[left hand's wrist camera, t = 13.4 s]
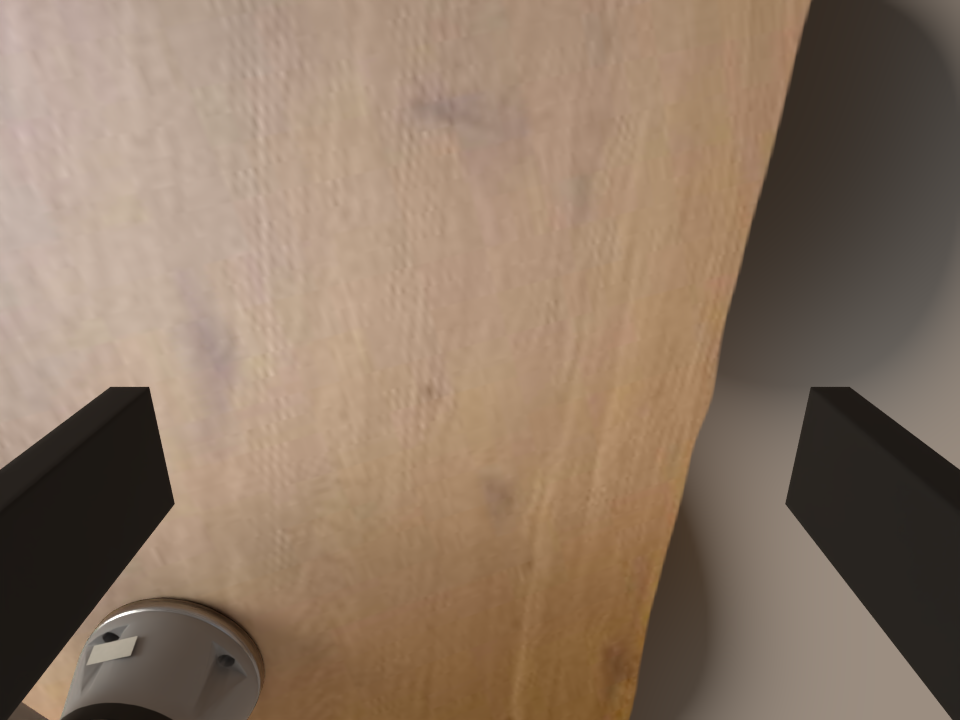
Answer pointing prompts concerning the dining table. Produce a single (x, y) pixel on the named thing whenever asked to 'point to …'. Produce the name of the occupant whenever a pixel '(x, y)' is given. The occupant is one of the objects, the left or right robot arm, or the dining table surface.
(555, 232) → the dining table surface
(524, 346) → the dining table surface
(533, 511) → the dining table surface
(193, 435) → the dining table surface
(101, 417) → the left robot arm
